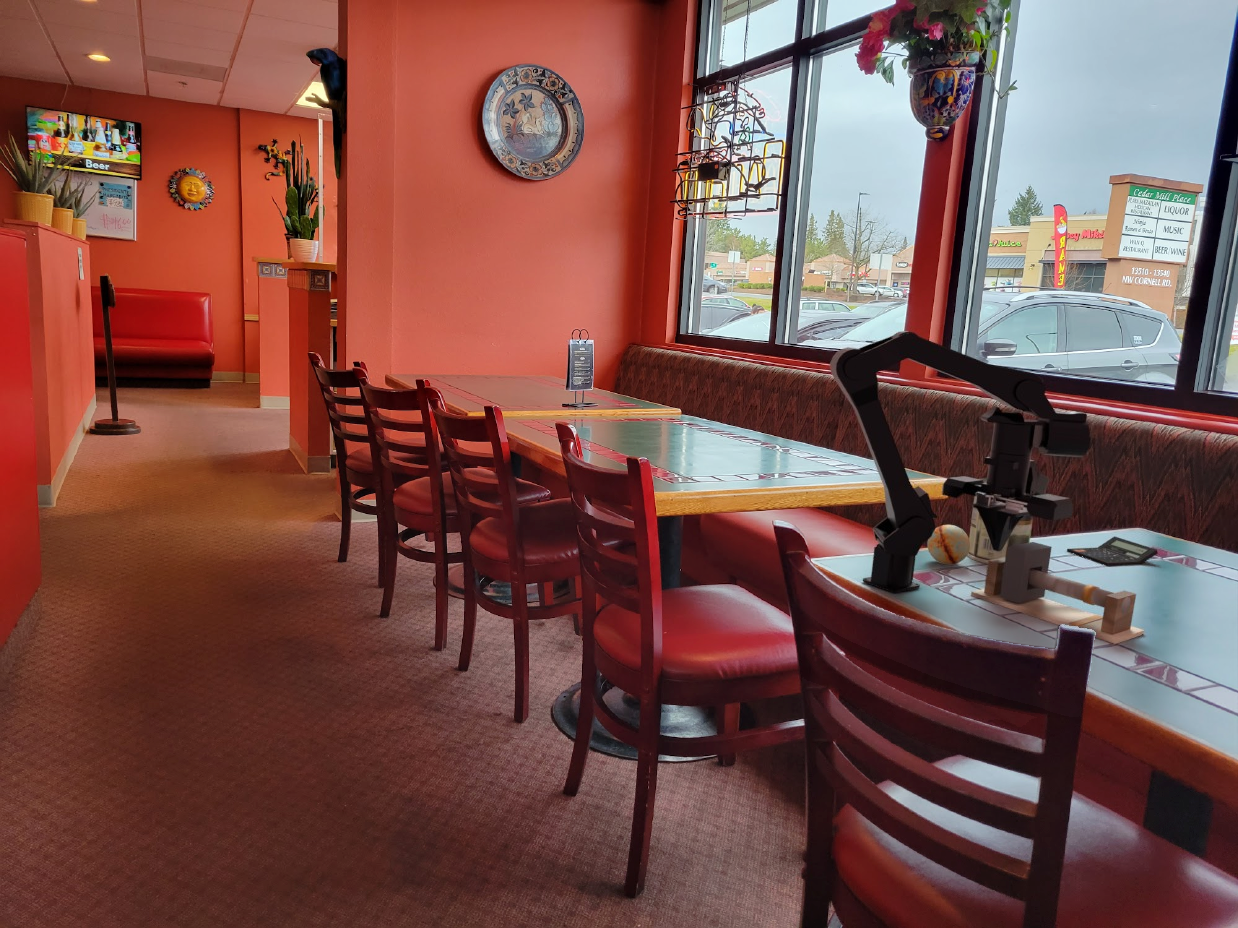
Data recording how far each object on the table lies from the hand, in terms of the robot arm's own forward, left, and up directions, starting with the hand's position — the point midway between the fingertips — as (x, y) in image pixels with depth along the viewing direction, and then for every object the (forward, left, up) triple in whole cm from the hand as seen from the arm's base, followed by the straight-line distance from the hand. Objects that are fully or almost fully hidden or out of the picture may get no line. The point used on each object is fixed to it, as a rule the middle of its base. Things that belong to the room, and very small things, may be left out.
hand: (997, 550), depth 135 cm
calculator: (+43, +3, -8) cm, 44 cm away
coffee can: (+20, +12, -7) cm, 24 cm away
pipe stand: (0, -10, -7) cm, 12 cm away
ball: (+8, +14, -7) cm, 18 cm away
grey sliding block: (0, -5, -6) cm, 8 cm away
